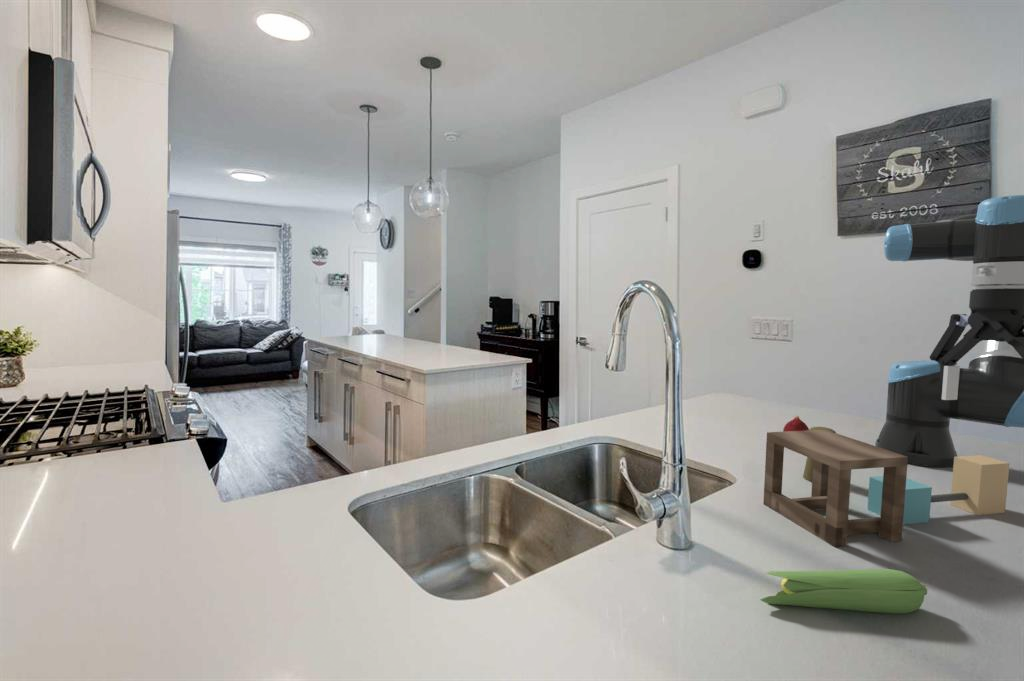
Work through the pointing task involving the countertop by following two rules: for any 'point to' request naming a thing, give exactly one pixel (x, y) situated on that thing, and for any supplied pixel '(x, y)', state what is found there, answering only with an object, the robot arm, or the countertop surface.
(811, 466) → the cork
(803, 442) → the walnut bench
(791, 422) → the onion
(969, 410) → the robot arm
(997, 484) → the square-ended dumbbell
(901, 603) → the edible corn
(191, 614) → the countertop surface
